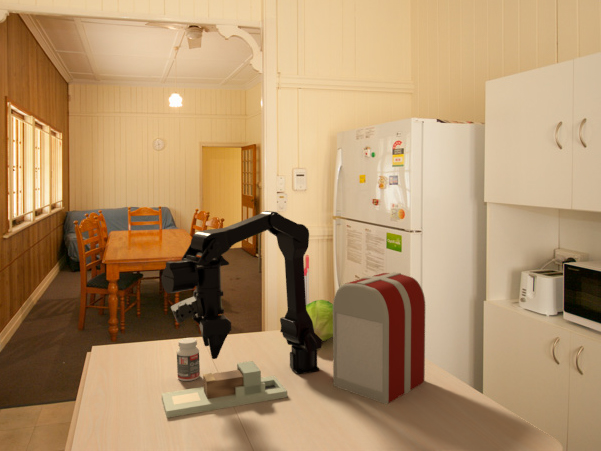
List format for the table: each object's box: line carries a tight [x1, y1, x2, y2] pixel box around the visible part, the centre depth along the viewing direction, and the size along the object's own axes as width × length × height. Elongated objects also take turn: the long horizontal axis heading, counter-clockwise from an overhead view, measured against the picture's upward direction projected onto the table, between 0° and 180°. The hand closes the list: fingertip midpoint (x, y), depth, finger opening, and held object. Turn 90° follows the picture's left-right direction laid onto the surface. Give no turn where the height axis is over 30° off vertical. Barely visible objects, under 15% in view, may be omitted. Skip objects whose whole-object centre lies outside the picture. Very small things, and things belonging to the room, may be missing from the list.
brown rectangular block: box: [202, 369, 244, 399], centre depth 126 cm, size 12×4×4 cm, turn 110°
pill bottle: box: [176, 337, 201, 382], centre depth 139 cm, size 6×6×10 cm
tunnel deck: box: [161, 360, 288, 419], centre depth 126 cm, size 28×10×7 cm, turn 110°
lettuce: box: [306, 299, 333, 342], centre depth 166 cm, size 13×23×12 cm, turn 170°
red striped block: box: [332, 271, 426, 405], centre depth 132 cm, size 17×18×27 cm
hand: (210, 352), depth 124 cm, fingers open, 9 cm apart
